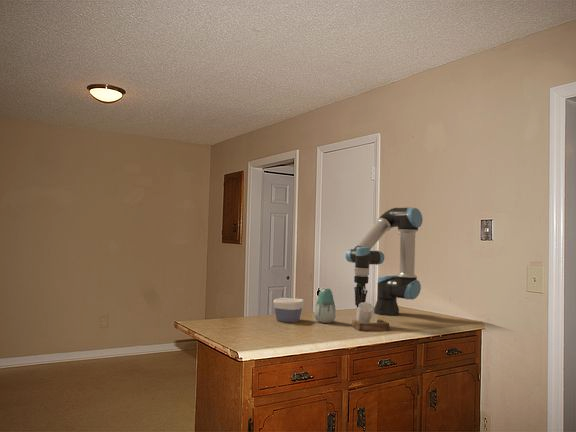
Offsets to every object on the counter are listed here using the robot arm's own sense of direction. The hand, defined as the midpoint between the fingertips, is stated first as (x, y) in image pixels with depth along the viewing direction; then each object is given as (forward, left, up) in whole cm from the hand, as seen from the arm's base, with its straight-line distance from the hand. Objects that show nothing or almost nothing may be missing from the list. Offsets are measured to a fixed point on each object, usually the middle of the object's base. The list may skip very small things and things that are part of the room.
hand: (359, 319), depth 260 cm
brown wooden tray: (+12, +1, -2) cm, 13 cm away
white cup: (+3, +1, -1) cm, 4 cm away
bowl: (-13, -36, -3) cm, 38 cm away
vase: (-7, -17, -3) cm, 18 cm away
